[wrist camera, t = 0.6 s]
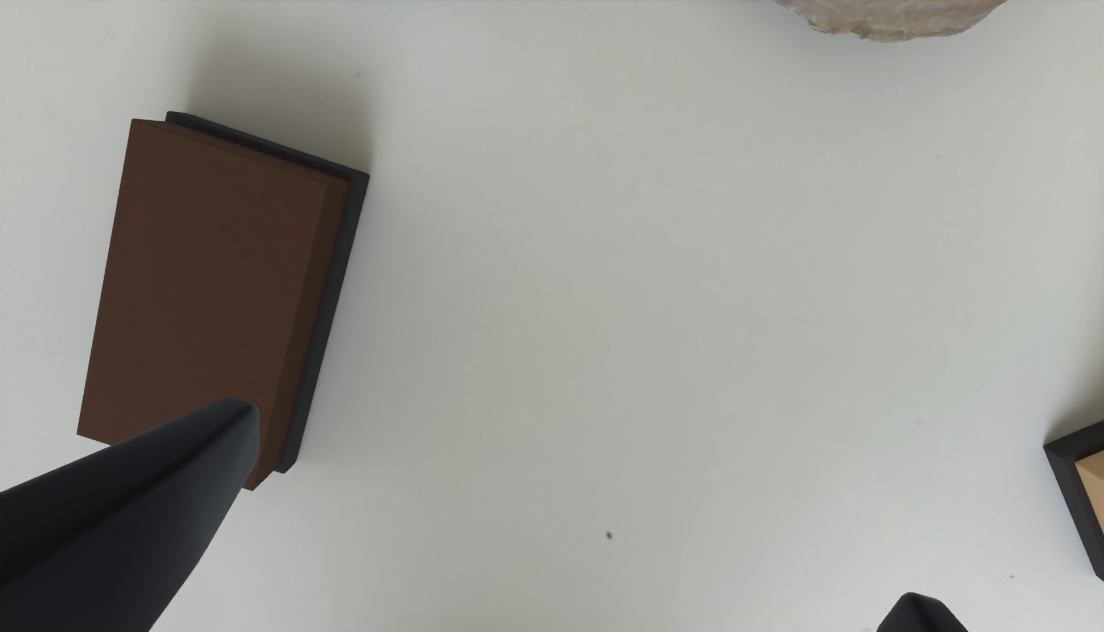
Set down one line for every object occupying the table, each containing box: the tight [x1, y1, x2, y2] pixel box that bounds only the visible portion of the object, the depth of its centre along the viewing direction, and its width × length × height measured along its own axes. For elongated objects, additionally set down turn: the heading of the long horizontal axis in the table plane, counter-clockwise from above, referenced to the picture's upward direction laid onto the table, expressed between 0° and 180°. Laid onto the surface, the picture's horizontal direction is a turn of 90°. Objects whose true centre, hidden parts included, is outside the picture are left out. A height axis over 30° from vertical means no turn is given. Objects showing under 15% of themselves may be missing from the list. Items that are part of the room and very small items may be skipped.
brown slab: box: [77, 111, 370, 491], centre depth 23 cm, size 11×6×3 cm, turn 162°
